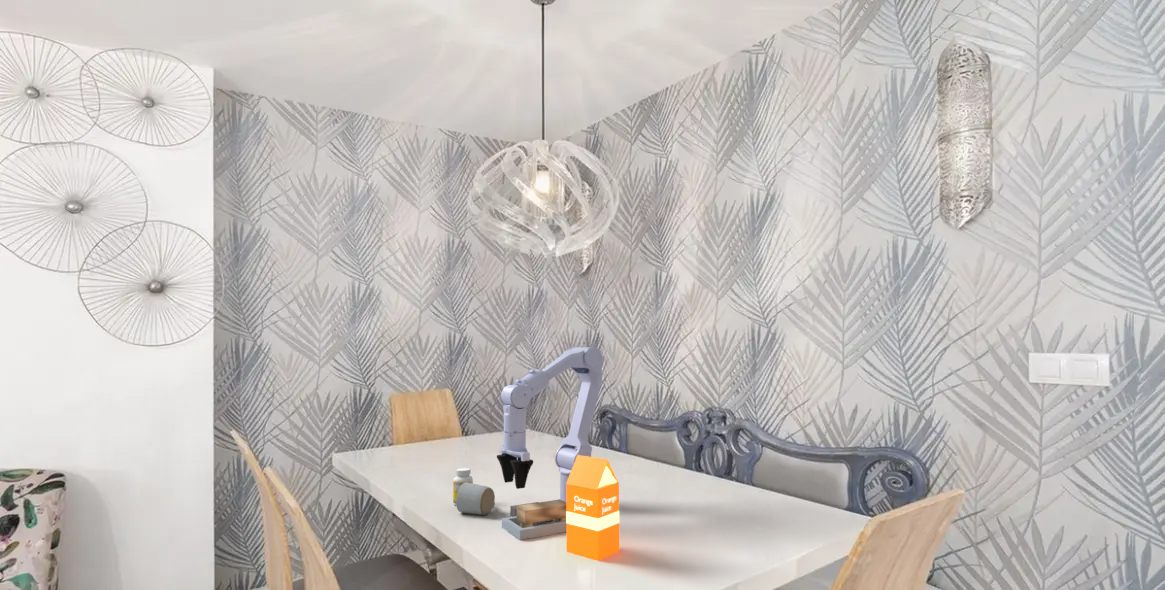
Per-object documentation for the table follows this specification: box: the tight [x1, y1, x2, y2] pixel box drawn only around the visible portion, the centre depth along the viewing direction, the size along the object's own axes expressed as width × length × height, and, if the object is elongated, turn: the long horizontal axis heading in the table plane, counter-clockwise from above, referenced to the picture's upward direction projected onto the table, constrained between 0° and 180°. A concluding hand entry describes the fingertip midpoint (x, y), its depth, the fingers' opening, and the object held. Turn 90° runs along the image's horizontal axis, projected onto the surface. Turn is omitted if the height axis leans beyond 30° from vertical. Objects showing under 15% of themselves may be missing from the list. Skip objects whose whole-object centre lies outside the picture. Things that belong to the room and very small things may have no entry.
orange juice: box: [566, 455, 620, 562], centre depth 129 cm, size 8×9×20 cm
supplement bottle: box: [452, 467, 474, 507], centre depth 166 cm, size 5×5×10 cm
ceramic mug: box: [456, 482, 496, 516], centre depth 159 cm, size 11×8×8 cm
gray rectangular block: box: [509, 501, 539, 517], centre depth 155 cm, size 8×3×2 cm, turn 120°
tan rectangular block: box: [516, 498, 567, 524], centre depth 144 cm, size 12×5×3 cm, turn 120°
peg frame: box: [501, 516, 567, 541], centre depth 144 cm, size 17×11×2 cm, turn 120°
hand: (514, 484), depth 153 cm, fingers open, 7 cm apart
